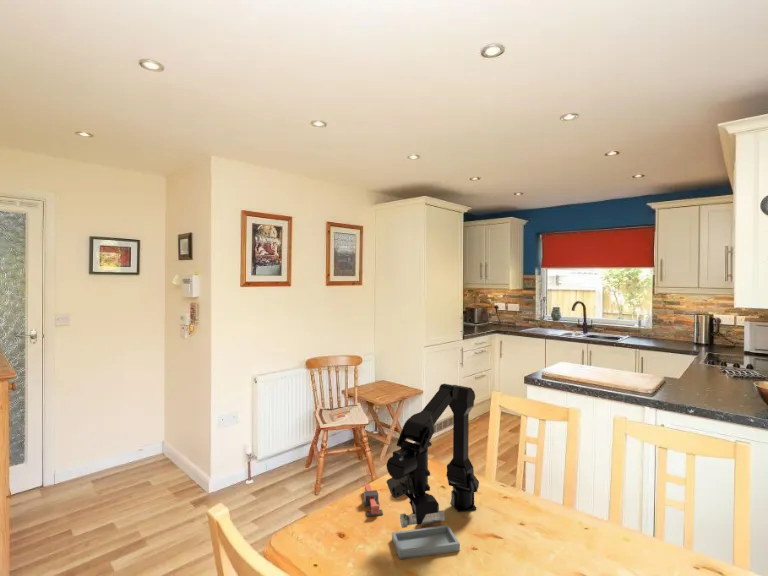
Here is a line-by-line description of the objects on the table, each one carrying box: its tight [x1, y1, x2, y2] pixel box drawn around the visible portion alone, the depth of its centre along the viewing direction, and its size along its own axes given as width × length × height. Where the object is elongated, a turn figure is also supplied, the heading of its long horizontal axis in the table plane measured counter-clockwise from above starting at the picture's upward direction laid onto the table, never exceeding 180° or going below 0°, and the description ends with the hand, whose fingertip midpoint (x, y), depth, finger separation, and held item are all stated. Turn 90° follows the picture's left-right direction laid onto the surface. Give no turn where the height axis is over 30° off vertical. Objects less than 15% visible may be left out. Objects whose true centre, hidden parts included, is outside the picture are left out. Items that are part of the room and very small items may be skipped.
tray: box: [391, 524, 461, 560], centre depth 113 cm, size 17×9×2 cm, turn 102°
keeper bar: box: [364, 483, 380, 514], centre depth 134 cm, size 2×16×2 cm, turn 12°
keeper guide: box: [362, 489, 384, 517], centre depth 131 cm, size 5×8×4 cm, turn 12°
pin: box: [399, 509, 446, 529], centre depth 113 cm, size 12×3×3 cm, turn 102°
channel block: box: [420, 521, 441, 527], centre depth 126 cm, size 6×8×3 cm
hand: (417, 521), depth 112 cm, fingers closed on pin, 2 cm apart
